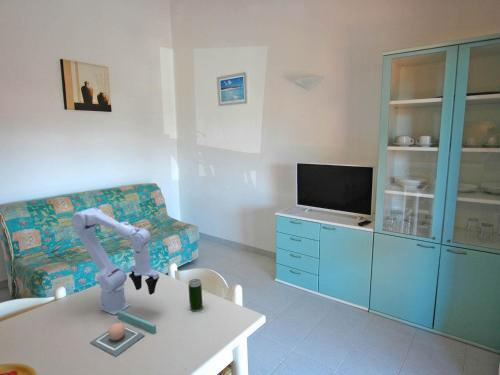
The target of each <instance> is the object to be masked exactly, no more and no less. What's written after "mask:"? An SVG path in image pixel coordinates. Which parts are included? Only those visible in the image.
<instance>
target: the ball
mask: <svg viewBox="0 0 500 375" xmlns="http://www.w3.org/2000/svg"><path fill="white" fill-rule="evenodd" d="M124 326H125V325H124V324H123V323H121V322H115V323H113V324H112V325H111V326H109V328H108V330H107V331H108V335H109V337H110V338H111V339H112V340H119V339H121V338H122V337H123V336H124V334H125V327H126V326H125V327H124Z"/></svg>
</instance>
